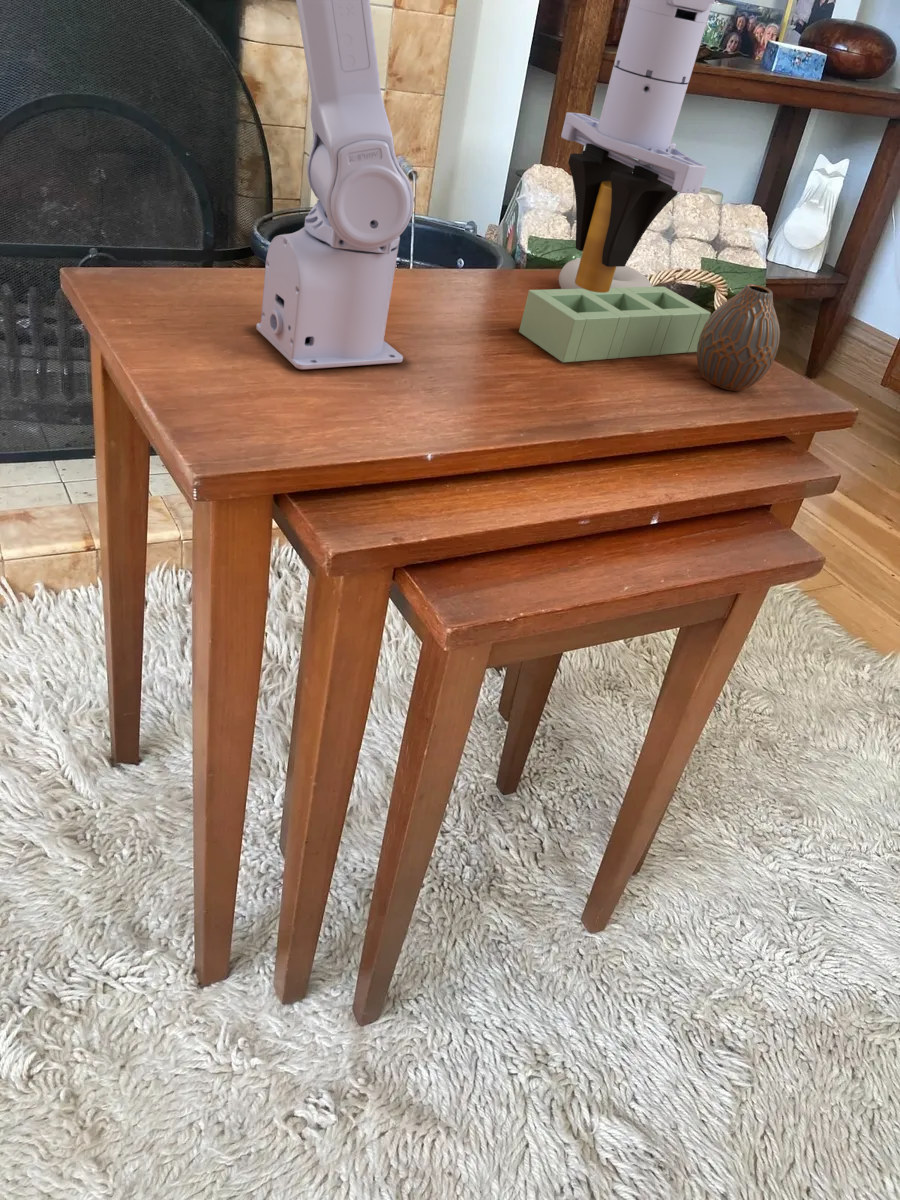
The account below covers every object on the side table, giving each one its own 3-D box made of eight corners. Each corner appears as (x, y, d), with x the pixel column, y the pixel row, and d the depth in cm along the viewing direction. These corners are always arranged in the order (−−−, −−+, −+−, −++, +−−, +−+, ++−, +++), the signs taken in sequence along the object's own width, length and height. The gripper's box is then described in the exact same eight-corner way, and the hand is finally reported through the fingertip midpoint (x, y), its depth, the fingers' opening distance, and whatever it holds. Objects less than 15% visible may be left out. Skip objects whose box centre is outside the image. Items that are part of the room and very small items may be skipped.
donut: (650, 329, 98) (644, 296, 106) (661, 296, 96) (654, 265, 104) (553, 307, 97) (555, 276, 105) (562, 274, 95) (563, 244, 103)
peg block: (562, 362, 85) (574, 319, 83) (518, 332, 89) (528, 289, 87) (697, 352, 94) (711, 312, 92) (651, 324, 99) (664, 286, 96)
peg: (589, 293, 79) (617, 192, 75) (567, 279, 81) (593, 180, 76) (616, 292, 81) (645, 193, 76) (594, 279, 83) (621, 181, 78)
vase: (673, 365, 90) (705, 271, 85) (731, 365, 93) (765, 275, 88) (715, 398, 85) (752, 302, 80) (775, 398, 88) (814, 305, 83)
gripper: (757, 104, 69) (694, 289, 77) (627, 57, 78) (582, 228, 86) (689, 95, 66) (630, 291, 73) (560, 48, 75) (520, 227, 82)
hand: (600, 257), depth 80 cm, fingers closed on peg, 3 cm apart
